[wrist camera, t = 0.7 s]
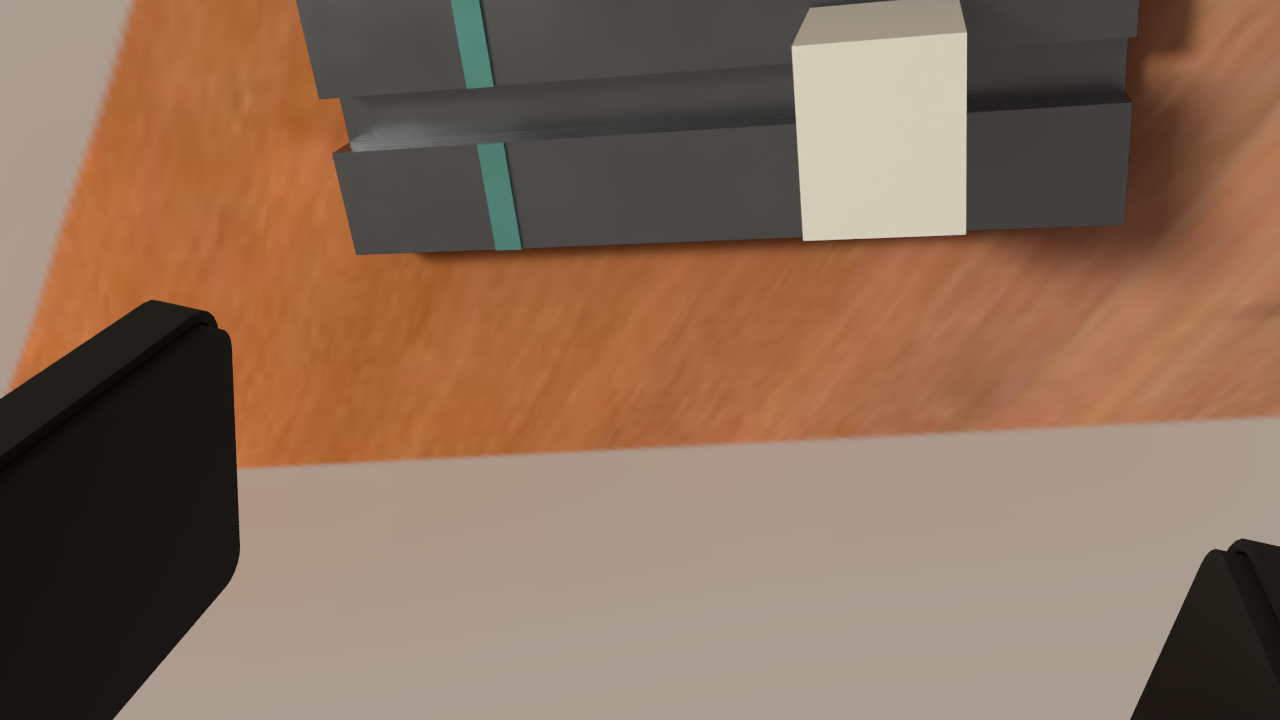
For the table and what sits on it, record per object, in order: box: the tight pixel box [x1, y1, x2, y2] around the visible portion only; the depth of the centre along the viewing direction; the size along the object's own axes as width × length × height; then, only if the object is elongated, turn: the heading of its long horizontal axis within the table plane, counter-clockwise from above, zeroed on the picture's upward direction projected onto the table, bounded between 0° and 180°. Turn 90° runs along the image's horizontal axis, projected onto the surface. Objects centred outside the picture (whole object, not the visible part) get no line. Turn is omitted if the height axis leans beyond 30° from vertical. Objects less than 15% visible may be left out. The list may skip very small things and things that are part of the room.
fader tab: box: [792, 0, 967, 241], centre depth 27 cm, size 4×4×6 cm
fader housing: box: [296, 0, 1139, 255], centre depth 31 cm, size 22×8×2 cm, turn 97°
